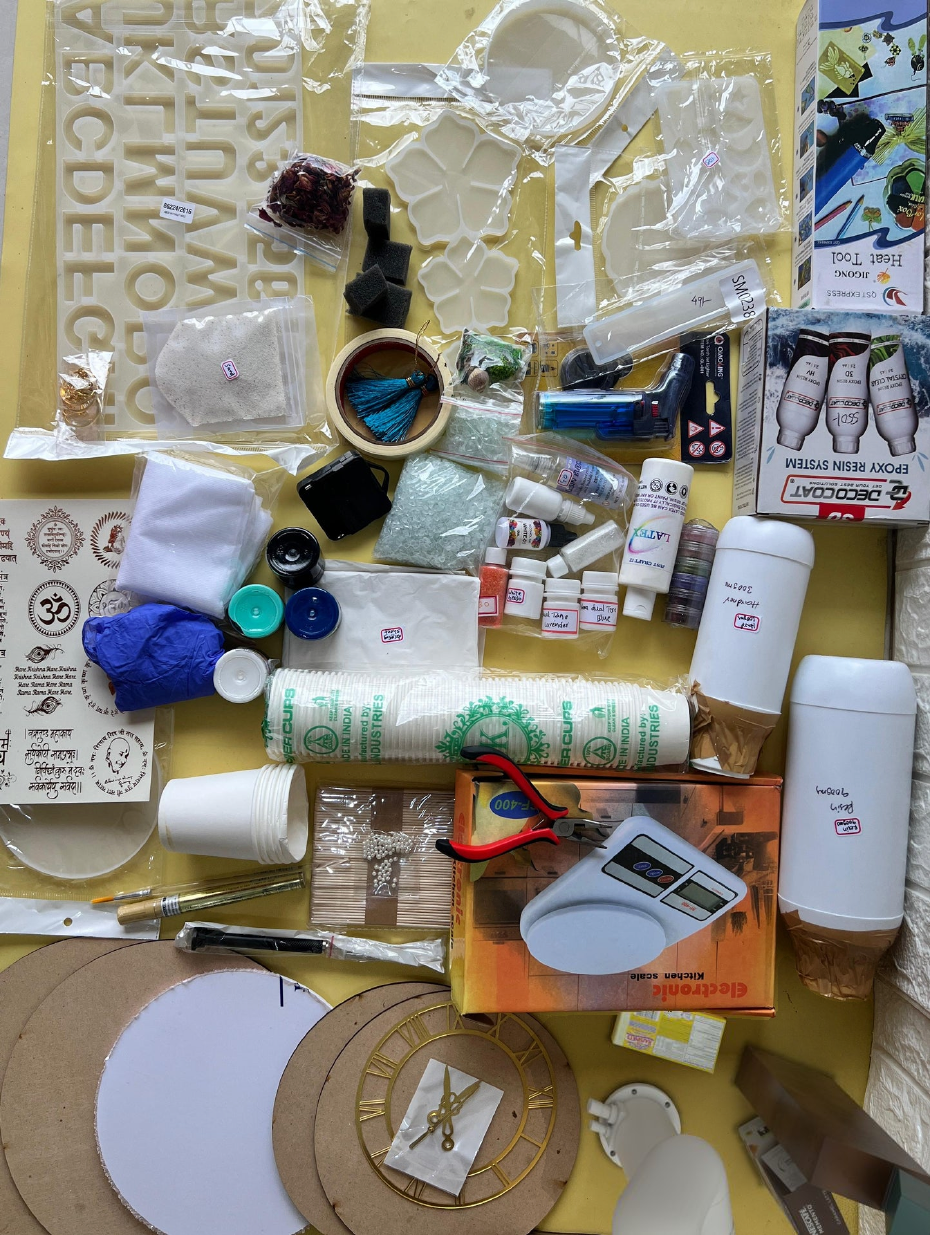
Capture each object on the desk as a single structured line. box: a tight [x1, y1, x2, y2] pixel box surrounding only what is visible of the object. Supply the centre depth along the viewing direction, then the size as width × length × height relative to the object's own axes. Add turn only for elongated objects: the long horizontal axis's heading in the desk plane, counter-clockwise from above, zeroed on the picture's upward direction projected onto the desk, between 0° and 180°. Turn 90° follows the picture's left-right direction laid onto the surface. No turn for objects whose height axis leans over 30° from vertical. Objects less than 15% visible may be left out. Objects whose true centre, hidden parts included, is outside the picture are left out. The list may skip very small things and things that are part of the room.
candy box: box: [610, 1011, 727, 1075], centre depth 122 cm, size 16×2×8 cm
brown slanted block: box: [733, 1045, 930, 1214], centre depth 110 cm, size 14×6×25 cm, turn 69°
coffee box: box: [737, 1115, 851, 1235], centre depth 114 cm, size 9×6×16 cm
